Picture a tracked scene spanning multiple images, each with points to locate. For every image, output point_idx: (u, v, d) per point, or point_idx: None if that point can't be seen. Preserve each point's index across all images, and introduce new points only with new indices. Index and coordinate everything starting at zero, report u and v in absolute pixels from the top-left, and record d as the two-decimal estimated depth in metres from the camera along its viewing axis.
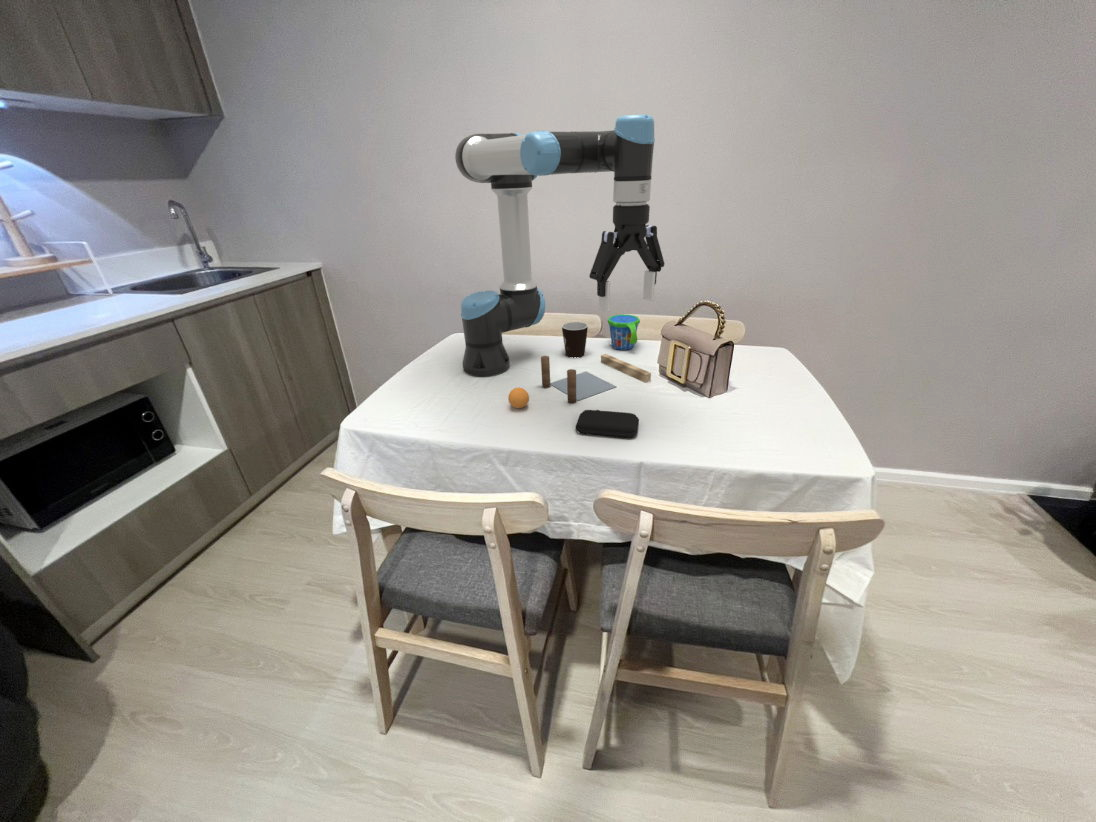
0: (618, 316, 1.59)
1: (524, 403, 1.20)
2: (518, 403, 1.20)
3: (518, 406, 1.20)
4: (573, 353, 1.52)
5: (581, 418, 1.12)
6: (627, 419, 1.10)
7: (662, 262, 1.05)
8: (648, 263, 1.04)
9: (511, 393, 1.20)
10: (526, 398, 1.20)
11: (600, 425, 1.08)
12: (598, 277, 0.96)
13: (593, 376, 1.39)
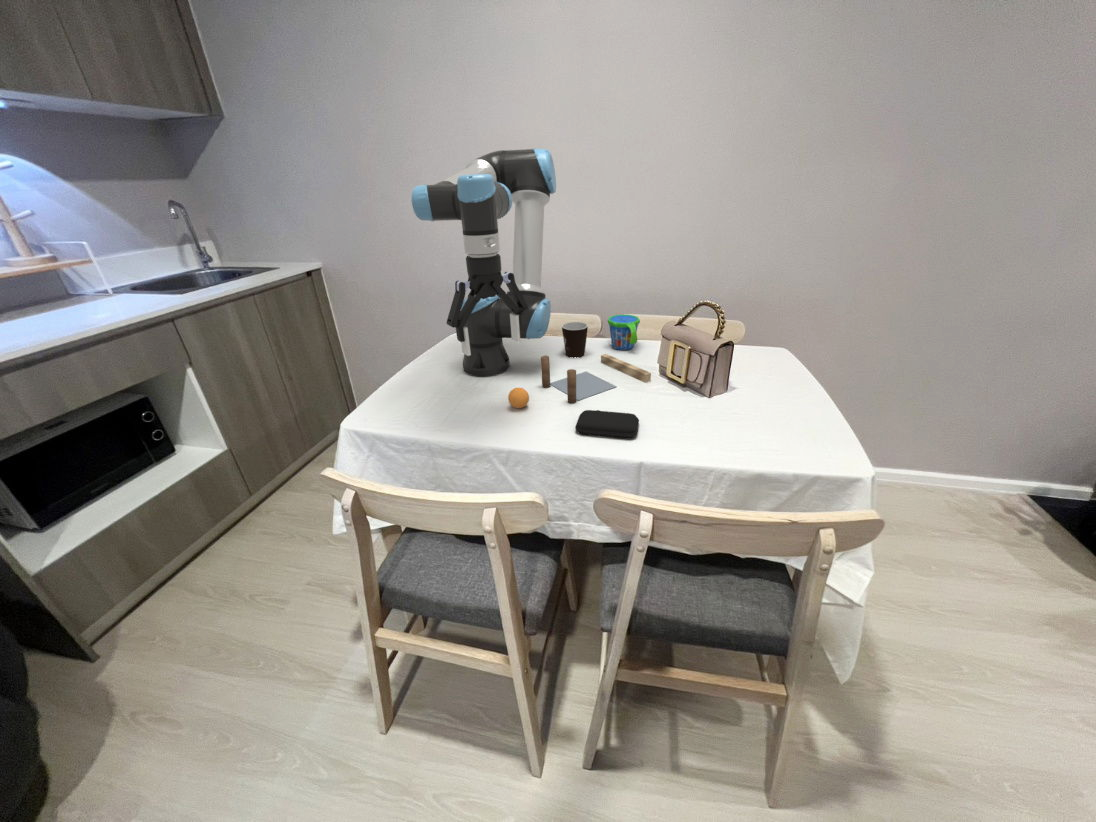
0: (618, 316, 1.59)
1: (524, 403, 1.20)
2: (518, 403, 1.20)
3: (518, 406, 1.20)
4: (573, 353, 1.52)
5: (581, 418, 1.12)
6: (627, 419, 1.10)
7: (525, 305, 1.10)
8: (510, 307, 1.08)
9: (511, 393, 1.20)
10: (526, 398, 1.20)
11: (600, 425, 1.08)
12: (453, 325, 1.00)
13: (593, 376, 1.39)
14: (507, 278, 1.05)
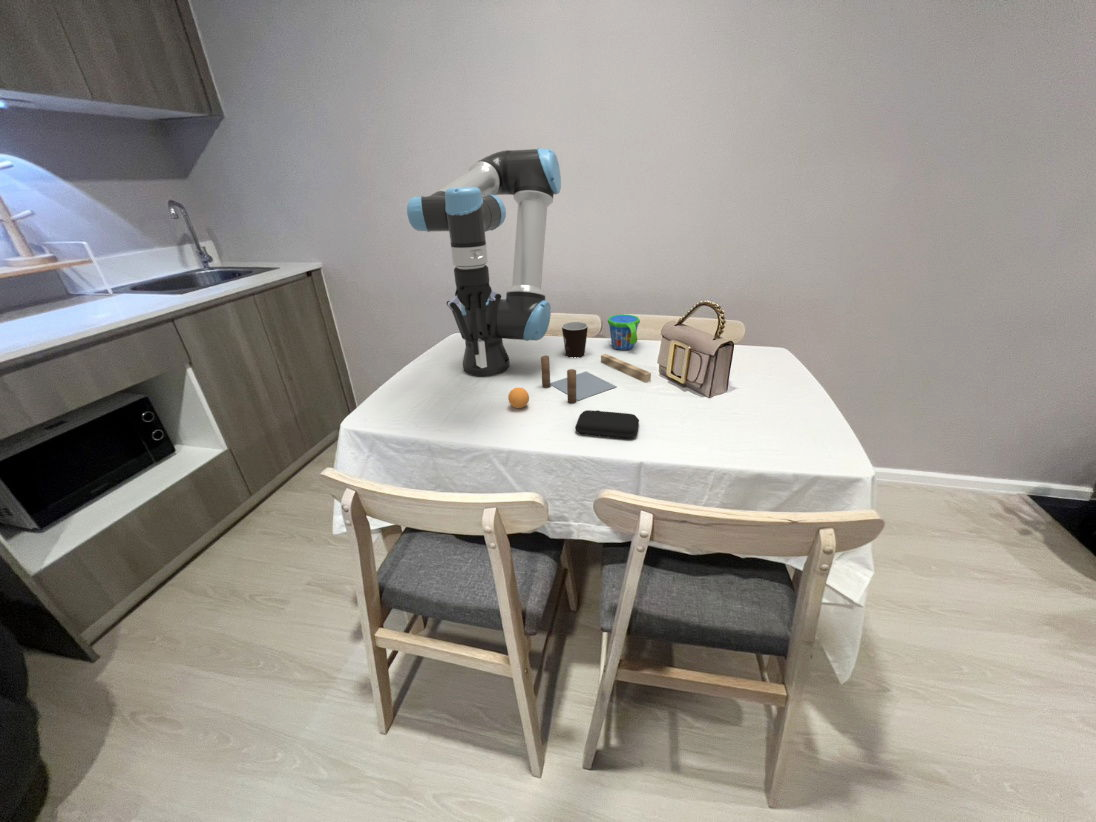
0: (618, 316, 1.59)
1: (524, 403, 1.20)
2: (518, 403, 1.20)
3: (518, 406, 1.20)
4: (573, 353, 1.52)
5: (581, 419, 1.11)
6: (627, 420, 1.10)
7: (492, 331, 1.08)
8: (480, 328, 1.07)
9: (511, 393, 1.20)
10: (526, 398, 1.20)
11: (600, 425, 1.08)
12: (468, 339, 1.05)
13: (593, 376, 1.39)
14: (494, 296, 1.06)
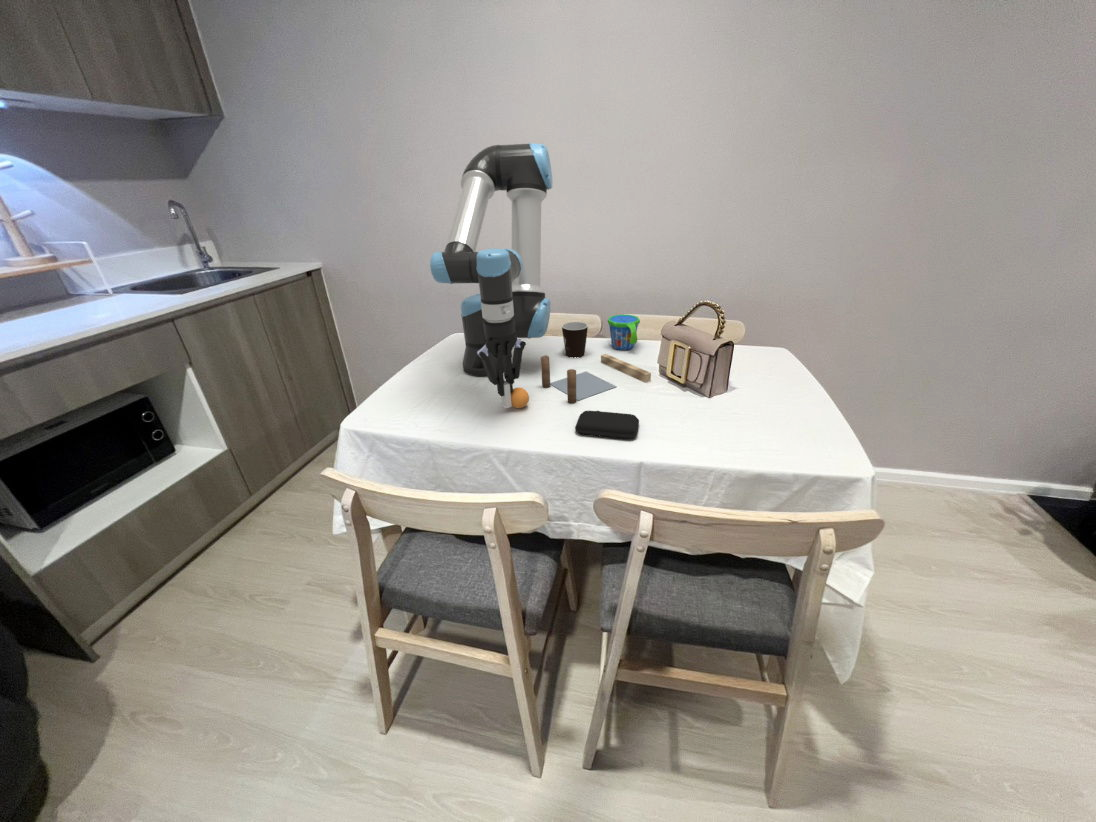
0: (618, 316, 1.59)
1: (524, 403, 1.20)
2: (518, 403, 1.20)
3: (518, 406, 1.20)
4: (573, 353, 1.52)
5: (581, 419, 1.11)
6: (627, 420, 1.10)
7: (517, 374, 1.18)
8: (506, 372, 1.17)
9: (511, 393, 1.20)
10: (526, 398, 1.20)
11: (600, 426, 1.08)
12: (495, 383, 1.15)
13: (593, 376, 1.39)
14: (519, 343, 1.15)
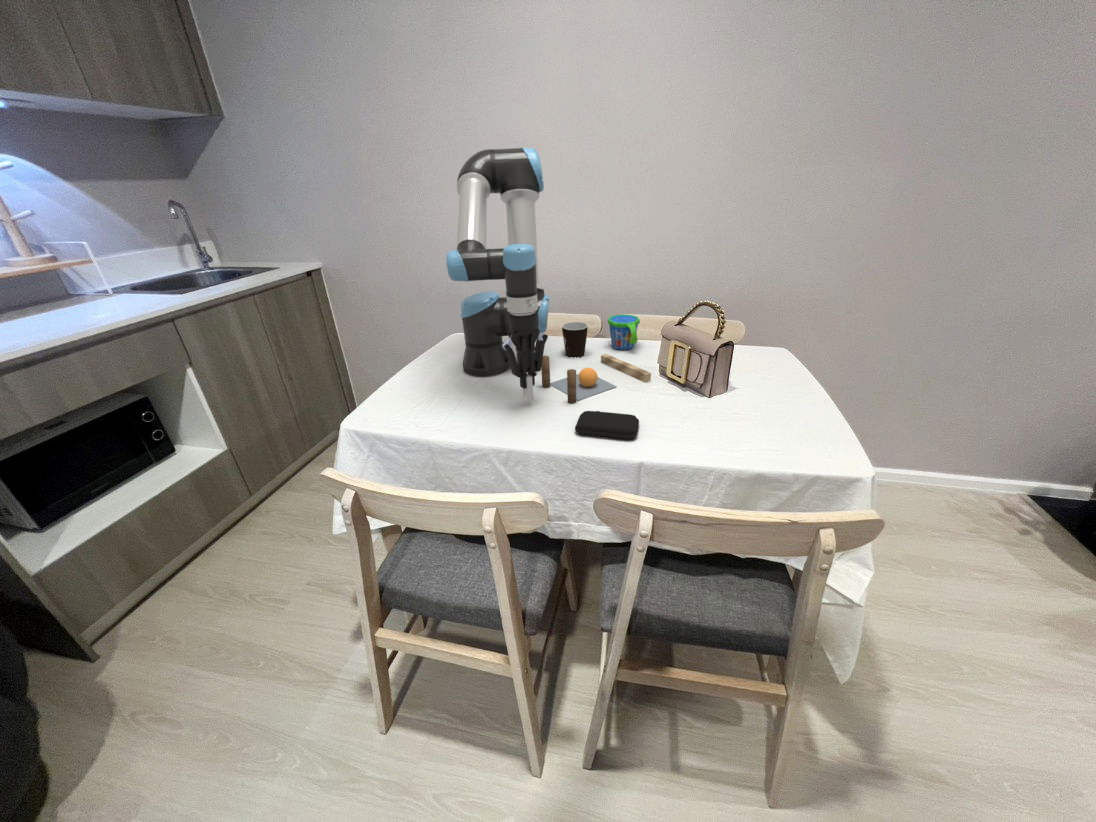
0: (618, 316, 1.59)
1: (591, 381, 1.30)
2: (592, 375, 1.29)
3: (589, 375, 1.29)
4: (573, 353, 1.52)
5: (581, 419, 1.11)
6: (627, 420, 1.09)
7: (539, 367, 1.21)
8: (529, 365, 1.20)
9: None
10: (594, 383, 1.31)
11: (599, 426, 1.08)
12: (518, 376, 1.18)
13: None
14: (541, 337, 1.18)
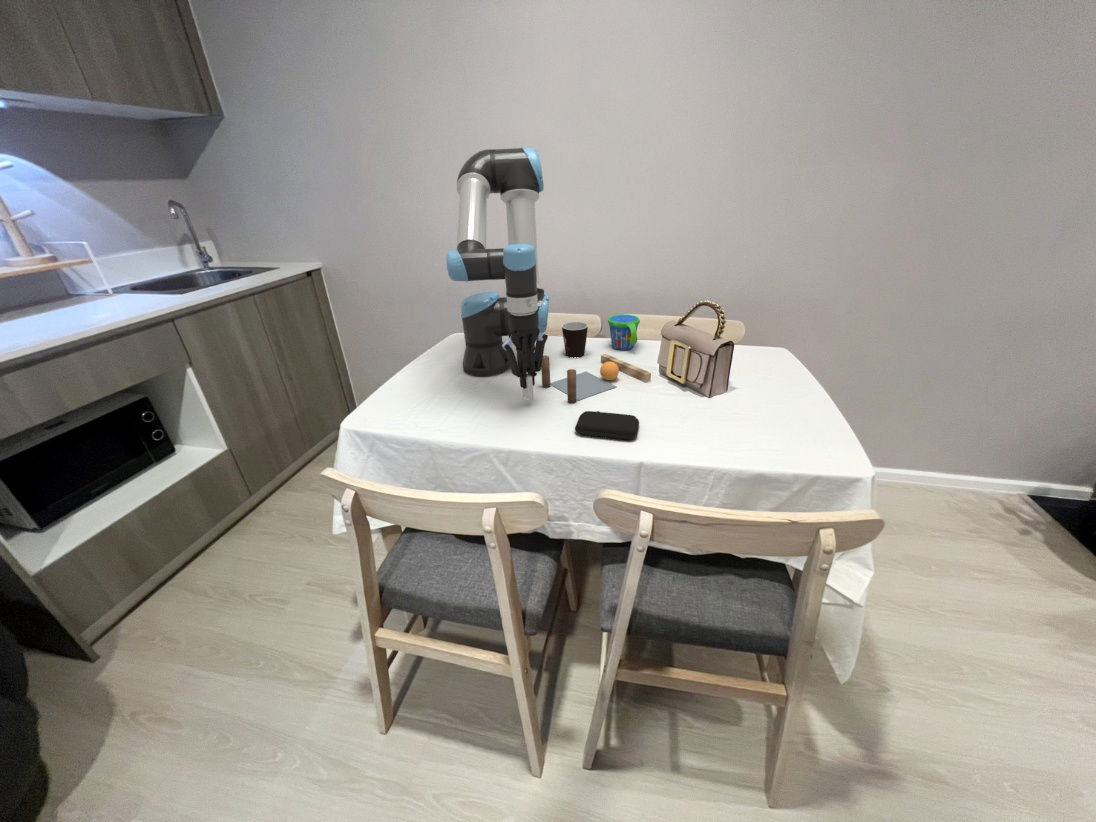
0: (618, 316, 1.59)
1: (616, 371, 1.34)
2: (615, 376, 1.35)
3: (617, 375, 1.35)
4: (573, 353, 1.52)
5: (581, 419, 1.11)
6: (627, 421, 1.09)
7: (539, 367, 1.21)
8: (529, 365, 1.20)
9: None
10: (612, 371, 1.33)
11: (599, 426, 1.08)
12: (518, 376, 1.18)
13: (593, 376, 1.39)
14: (541, 337, 1.18)
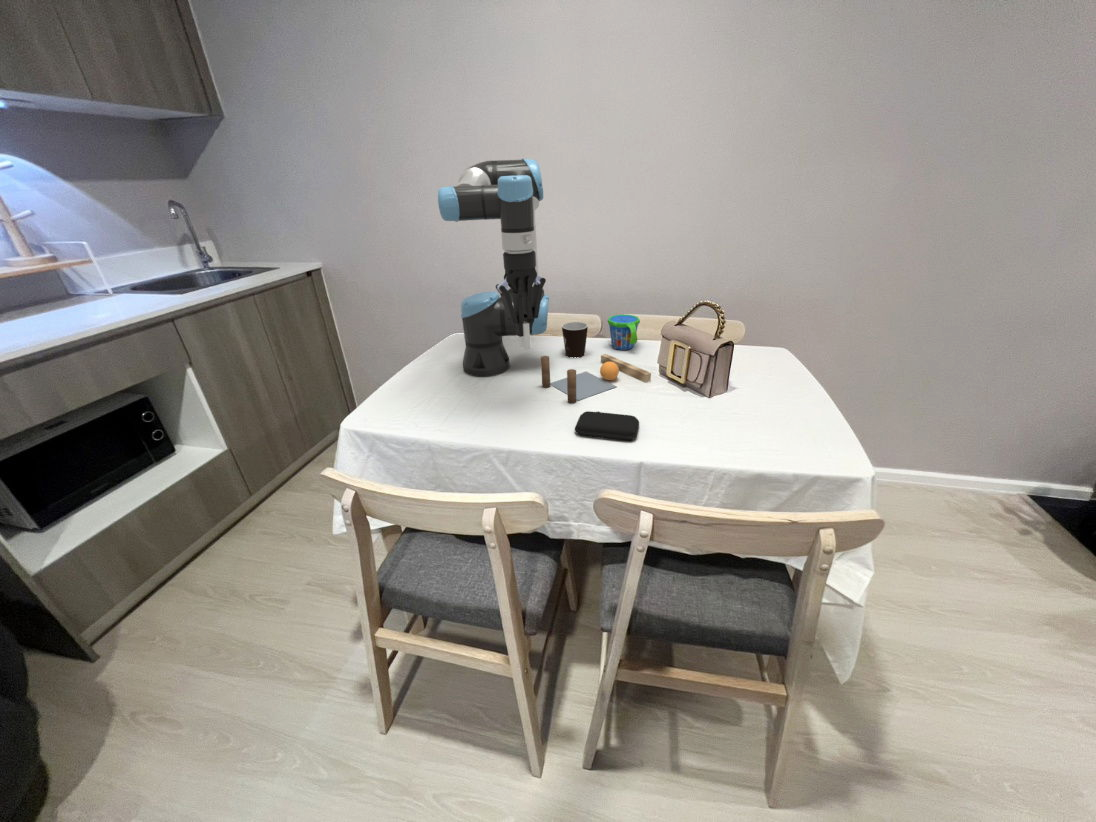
0: (618, 316, 1.59)
1: (616, 371, 1.34)
2: (615, 376, 1.35)
3: (617, 375, 1.35)
4: (573, 353, 1.52)
5: (581, 420, 1.11)
6: (627, 421, 1.09)
7: (537, 314, 1.14)
8: (525, 311, 1.13)
9: None
10: (612, 371, 1.33)
11: (599, 427, 1.07)
12: (514, 321, 1.11)
13: (593, 376, 1.39)
14: (538, 280, 1.11)
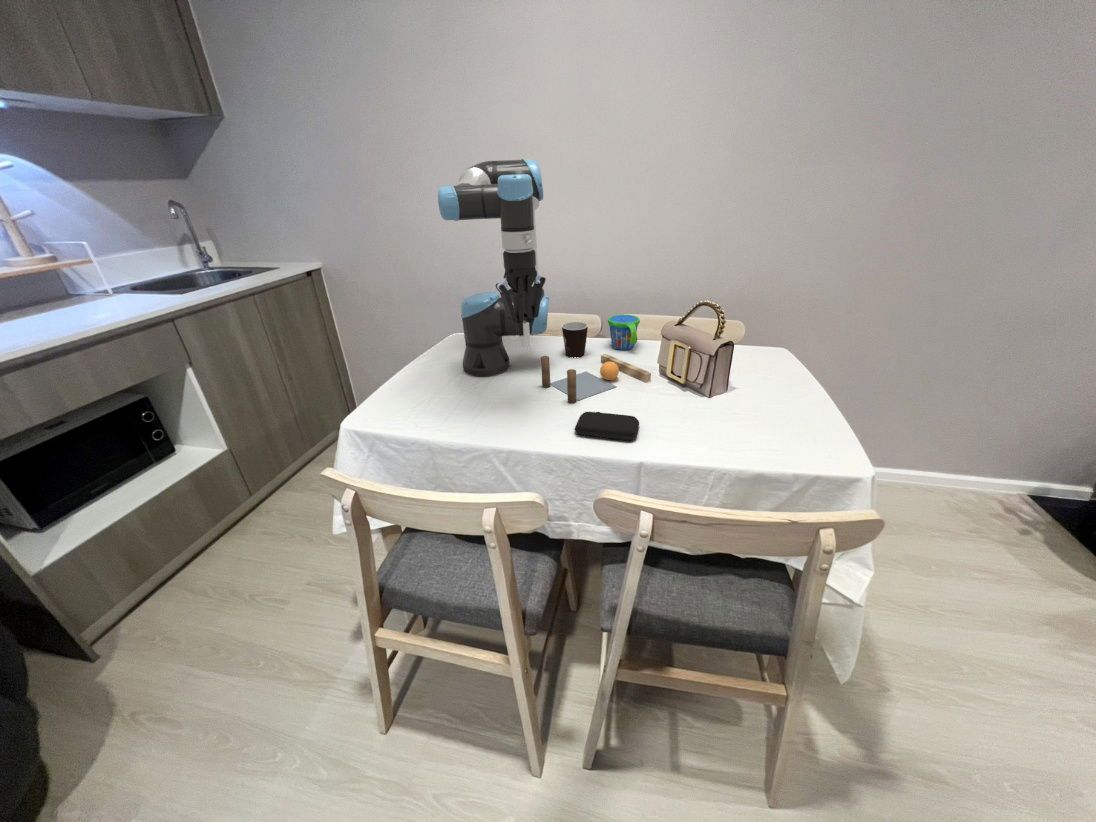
0: (618, 316, 1.59)
1: (616, 371, 1.34)
2: (615, 376, 1.35)
3: (617, 375, 1.35)
4: (573, 353, 1.52)
5: (581, 420, 1.11)
6: (627, 422, 1.09)
7: (537, 313, 1.14)
8: (525, 310, 1.13)
9: None
10: (612, 371, 1.33)
11: (599, 427, 1.07)
12: (514, 320, 1.11)
13: (593, 376, 1.39)
14: (538, 279, 1.11)
